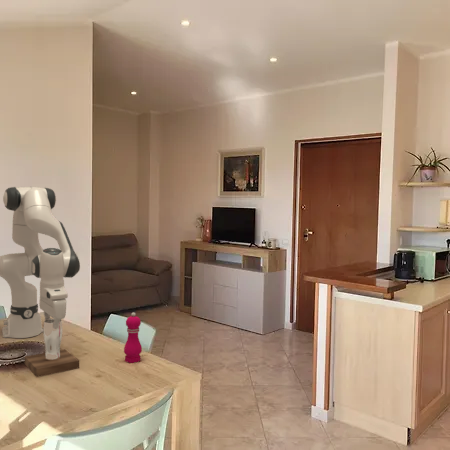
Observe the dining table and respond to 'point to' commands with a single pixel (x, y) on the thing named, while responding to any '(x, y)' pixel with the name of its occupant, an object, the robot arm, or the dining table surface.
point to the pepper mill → (132, 339)
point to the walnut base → (51, 363)
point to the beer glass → (52, 340)
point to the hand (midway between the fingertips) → (51, 325)
